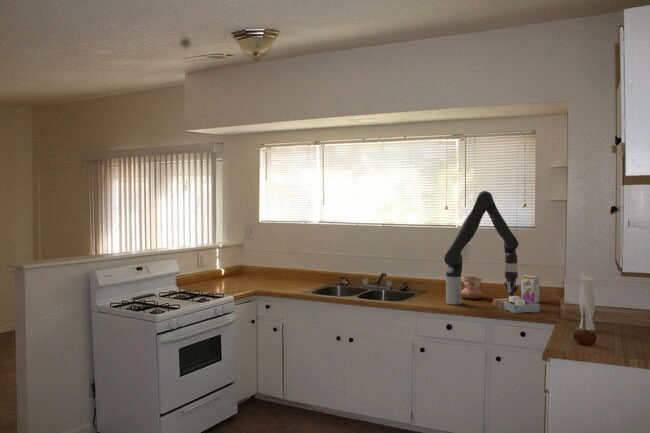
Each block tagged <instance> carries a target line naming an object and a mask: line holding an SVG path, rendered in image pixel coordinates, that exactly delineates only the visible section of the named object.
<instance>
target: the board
mask: <svg viewBox="0 0 650 433" xmlns="http://www.w3.org/2000/svg"><path fill="white" fill-rule="evenodd" d="M521 300H522V299H521ZM524 301H525V300H524ZM504 302H507V303H510V304H513V305H515V302H510V301H509V297H505V298H504V297H503V298H502V297H501V298H499V297H498V298H492V306H494V307H496V306H497V308H500V309H502V308H503V309H502V310H505V309H504ZM525 305H527V301H525Z"/></svg>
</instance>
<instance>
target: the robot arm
mask: <svg viewBox="0 0 650 433" xmlns="http://www.w3.org/2000/svg"><path fill="white" fill-rule="evenodd" d="M470 211H471V212H469V214H468V215H467V216H466V218H465V219H464V221H462V222H463V223H462V224H461V226H460V228H459V231H458V232H457V234H456V236H455V238H454V239H453V242H452V244H451V245H450V247H449V248H448V250H447V251H446V253H445V254H444V257H443V258H444V263H445V265H447V270H446V272H445V293H446V294H445V303H446V304H449V305H461V304H462V296H461V291H462V273H463V255H462V251H463V250H464V248H465V247H466V246H467V245H468V244H469V243H470V241H471V240H472V239H473V237H474V236H475V235H476V233H477V230H478V228H479V226H480V223H481V221H482V219H483V217H484V215H485V213H486V212H487V214H488V217H489V219H490V221H491V222H492V225H493V226H494V229H495V231H497V232H496V233H497V234H498V235H499V237H501V239H503V242H504V243H503V248H504V250H503V251H504V256H505V257H504V278H505V279H506V280H505V282H503V283H504V287H505V289H506V292H508V297H509V296H514V293H517V290H518V288H519V284H517V281H516V280H517V279H519V278H518V276H519V275H518V274H519V272H518V271H519V269H518V255H517V249H518V247H519V241H518V239H517V238H516V235H514V234H513V232H512V231H511V229H510V227H509V225H508V224H507V222H506V221H505V219H504V218H503V216H502V214H501V213H500V211H499V209H498V207H497V206H496V203H495V200H494V198H493V195H492V193H491V192H489V191H486V190H483V191H480V192H479V193H478V194H477V197H476V200H475V202H474V205H473V207H472V209H471V210H470Z"/></svg>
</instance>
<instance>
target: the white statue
mask: <svg viewBox="0 0 650 433" xmlns="http://www.w3.org/2000/svg"><path fill="white" fill-rule="evenodd" d="M579 281H580V288H579V296H578V302H579V310H580V317H581V319H580V323H579V327H576V329H577V330H578V331H580V330H589V331H591V332H597V330H596V328H595V324H594V321H593V317H594V313H595V308H596V292H595V291H596V290H595V285H594V282H595V276H593V277H591V276H585V273H584V272H583V273H581V274H580V278H579Z"/></svg>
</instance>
